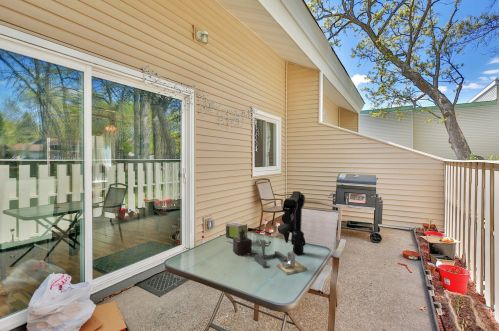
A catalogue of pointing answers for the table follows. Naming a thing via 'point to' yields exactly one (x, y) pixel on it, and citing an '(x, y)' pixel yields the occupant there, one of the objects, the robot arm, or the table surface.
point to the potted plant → (242, 244)
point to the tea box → (234, 230)
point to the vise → (262, 259)
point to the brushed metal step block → (289, 261)
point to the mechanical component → (263, 245)
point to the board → (292, 268)
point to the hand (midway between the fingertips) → (290, 245)
